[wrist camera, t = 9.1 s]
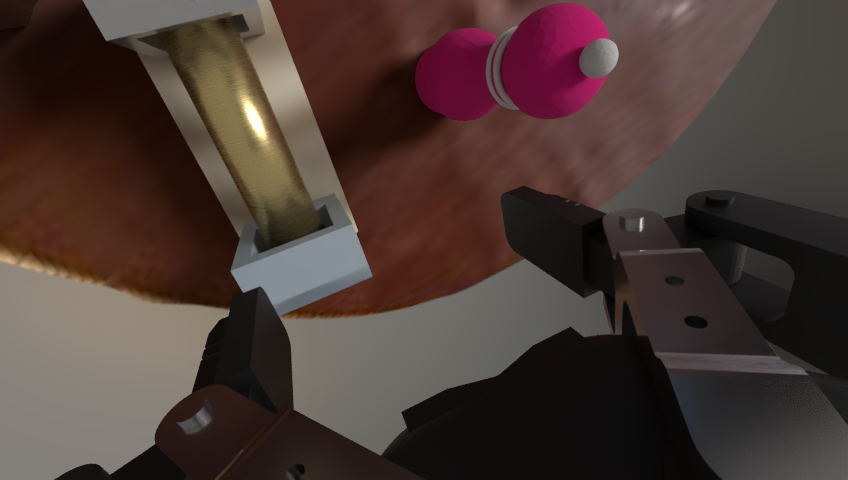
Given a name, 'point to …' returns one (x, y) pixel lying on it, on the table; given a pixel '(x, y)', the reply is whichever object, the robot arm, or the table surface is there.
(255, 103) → the tube
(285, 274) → the socket
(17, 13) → the muffin
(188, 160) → the table surface
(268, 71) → the board
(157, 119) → the table surface
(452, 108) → the pepper mill
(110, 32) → the matte grey cuboid
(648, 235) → the robot arm
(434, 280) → the table surface
